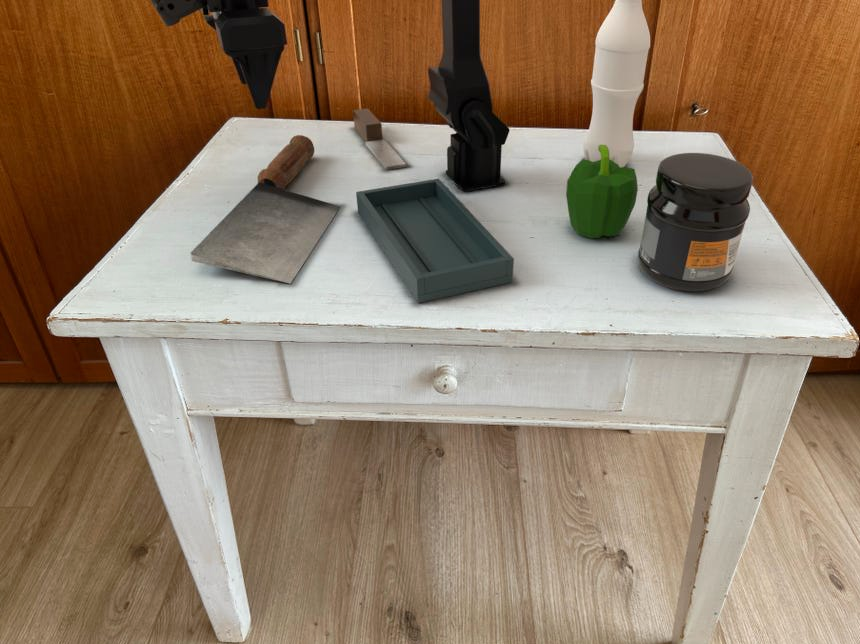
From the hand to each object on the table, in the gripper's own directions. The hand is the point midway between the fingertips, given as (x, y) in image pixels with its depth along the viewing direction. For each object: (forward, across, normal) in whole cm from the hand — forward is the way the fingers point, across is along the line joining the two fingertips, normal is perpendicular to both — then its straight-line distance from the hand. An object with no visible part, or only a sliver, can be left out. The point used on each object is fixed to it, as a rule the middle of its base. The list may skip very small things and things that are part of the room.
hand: (253, 95), depth 80 cm
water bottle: (+15, +3, +48) cm, 50 cm away
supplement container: (+15, +32, +39) cm, 53 cm away
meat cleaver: (+15, +1, +2) cm, 15 cm away
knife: (+14, -15, +19) cm, 28 cm away
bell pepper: (+15, +20, +36) cm, 43 cm away
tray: (+14, +16, +15) cm, 26 cm away
